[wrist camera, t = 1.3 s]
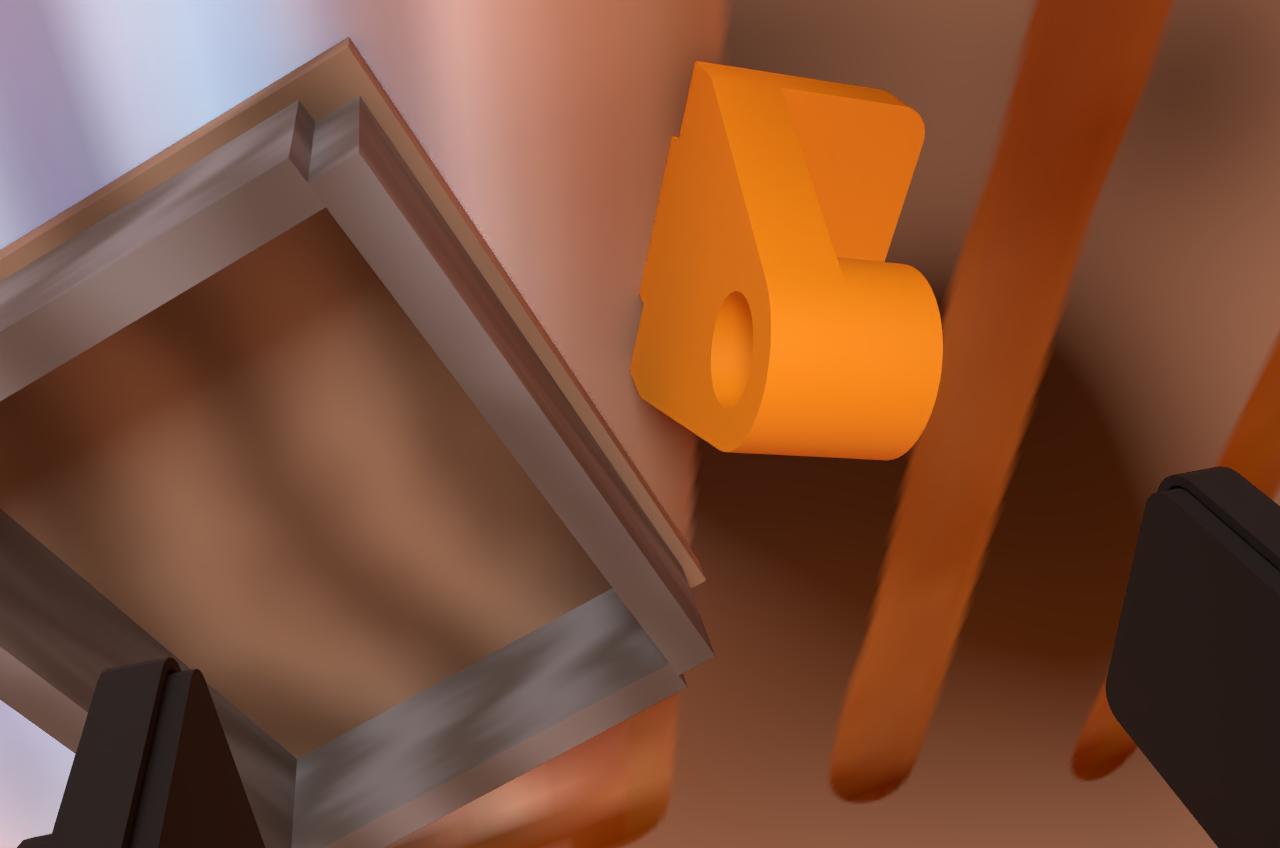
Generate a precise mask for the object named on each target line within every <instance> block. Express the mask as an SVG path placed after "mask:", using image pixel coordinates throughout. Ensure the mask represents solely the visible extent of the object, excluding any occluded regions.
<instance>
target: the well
mask: <svg viewBox="0 0 1280 848" xmlns="http://www.w3.org/2000/svg"><path fill="white" fill-rule="evenodd" d="M704 581H706V579H705V576H704V573H703V571H702V568H701V566H700V563H699V561H698V560H697V558H696V557H695V555H694V554H693V552H692V551H691V549H690V548H689V546H688V545H687V543H686V542H685V540H684V539H683V537H682V536H681V534H680V533H679V531H678V530H677V528H676V527H675V525H674V524H673V522H672V521H671V519H670V518H669V516H668V515H667V513H666V512H665V510H664V509H663V507H662V506H661V504H660V503H659V501H658V500H657V498H656V497H655V495H654V494H653V492H652V491H651V489H650V488H649V486H648V485H647V483H646V482H645V480H644V479H643V477H642V476H641V474H640V473H639V471H638V470H637V468H636V467H635V465H634V464H633V462H632V461H631V459H630V458H629V456H628V455H627V453H626V452H625V450H624V449H623V447H622V446H621V444H620V443H619V441H618V440H617V438H616V437H615V435H614V434H613V432H612V431H611V429H610V428H609V426H608V425H607V423H606V422H605V420H604V419H603V417H602V416H601V414H600V413H599V411H598V410H597V408H596V407H595V405H594V404H593V402H592V401H591V399H590V398H589V396H588V395H587V393H586V392H585V390H584V389H583V387H582V386H581V384H580V383H579V381H578V380H577V378H576V377H575V375H574V374H573V372H572V371H571V369H570V368H569V366H568V365H567V363H566V362H565V360H564V359H563V357H562V356H561V354H560V353H559V351H558V350H557V348H556V347H555V345H554V344H553V342H552V341H551V339H550V338H549V336H548V335H547V333H546V332H545V330H544V329H543V327H542V326H541V324H540V323H539V321H538V320H537V318H536V317H535V315H534V314H533V312H532V311H531V309H530V308H529V306H528V305H527V303H526V302H525V300H524V299H523V297H522V296H521V294H520V293H519V291H518V290H517V288H516V287H515V285H514V284H513V282H512V281H511V279H510V278H509V276H508V275H507V273H506V272H505V270H504V269H503V267H502V266H501V264H500V263H499V261H498V260H497V258H496V257H495V255H494V254H493V252H492V251H491V249H490V248H489V246H488V245H487V243H486V242H485V240H484V239H483V237H482V236H481V234H480V233H479V231H478V230H477V228H476V227H475V225H474V224H473V222H472V221H471V219H470V218H469V216H468V215H467V213H466V212H465V210H464V209H463V207H462V206H461V204H460V203H459V201H458V200H457V198H456V197H455V195H454V194H453V192H452V191H451V189H450V188H449V186H448V185H447V183H446V182H445V180H444V179H443V177H442V176H441V174H440V173H439V171H438V170H437V168H436V167H435V165H434V164H433V162H432V161H431V159H430V158H429V156H428V155H427V153H426V152H425V150H424V149H423V147H422V146H421V144H420V143H419V141H418V140H417V138H416V137H415V135H414V134H413V132H412V131H411V129H410V128H409V126H408V125H407V123H406V122H405V120H404V119H403V117H402V116H401V114H400V113H399V111H398V110H397V108H396V107H395V105H394V104H393V102H392V101H391V99H390V98H389V96H388V95H387V93H386V92H385V90H384V89H383V87H382V86H381V84H380V83H379V81H378V80H377V78H376V77H375V75H374V74H373V72H372V71H371V69H370V68H369V66H368V65H367V63H366V62H365V60H364V59H363V57H362V56H361V54H360V53H359V51H358V50H357V48H356V47H355V45H354V44H353V42H352V41H351V39H350V38H349V37H348V38H346V39H345V40H343V41H341V42H340V43H338V44H336V45H335V46H333V47H332V48H330V49H328V50H327V51H325V52H323V53H322V54H320V55H318V56H317V57H315V58H314V59H312V60H310V61H309V62H307V63H305V64H304V65H302V66H300V67H299V68H297V69H296V70H294V71H292V72H291V73H289V74H287V75H286V76H284V77H283V78H281V79H279V80H278V81H276V82H274V83H273V84H271V85H269V86H268V87H266V88H265V89H263V90H261V91H260V92H258V93H256V94H255V95H253V96H251V97H250V98H248V99H247V100H245V101H243V102H242V103H240V104H238V105H237V106H235V107H234V108H232V109H230V110H229V111H227V112H225V113H224V114H222V115H220V116H219V117H217V118H216V119H214V120H212V121H211V122H209V123H207V124H206V125H204V126H202V127H201V128H199V129H198V130H196V131H194V132H193V133H191V134H189V135H188V136H186V137H185V138H183V139H181V140H180V141H178V142H176V143H175V144H173V145H171V146H170V147H168V148H167V149H165V150H163V151H162V152H160V153H158V154H157V155H155V156H153V157H152V158H150V159H149V160H147V161H145V162H144V163H142V164H140V165H139V166H137V167H136V168H134V169H132V170H131V171H129V172H127V173H126V174H124V175H122V176H121V177H119V178H118V179H116V180H114V181H113V182H111V183H109V184H108V185H106V186H104V187H103V188H101V189H100V190H98V191H96V192H95V193H93V194H91V195H90V196H88V197H87V198H85V199H83V200H82V201H80V202H78V203H77V204H75V205H73V206H72V207H70V208H69V209H67V210H65V211H64V212H62V213H60V214H59V215H57V216H55V217H54V218H52V219H51V220H49V221H47V222H46V223H44V224H42V225H41V226H39V227H38V228H36V229H34V230H33V231H31V232H29V233H28V234H26V235H24V236H23V237H21V238H20V239H18V240H16V241H15V242H13V243H11V244H10V245H8V246H6V247H5V248H3V249H2V250H0V700H2V701H3V702H5V703H6V704H7V705H9V706H10V707H11V708H13V709H14V710H16V711H17V712H18V713H20V714H21V715H23V716H24V717H25V718H27V719H28V720H30V721H31V722H32V723H34V724H35V725H37V726H38V727H39V728H41V729H42V730H43V731H45V732H46V733H48V734H49V735H50V736H52V737H53V738H55V739H56V740H57V741H59V742H60V743H62V744H63V745H64V746H66V747H67V748H68V749H70V750H71V751H73V752H74V753H75V754H76V752H77V748H78V745H79V741H80V738H81V735H82V731H83V728H84V725H85V721H86V718H87V715H88V711H89V708H90V704H91V701H92V698H93V694H94V691H95V688H96V684H97V681H98V679H99V677H100V674H101V673H102V672H103V671H104V670H105V669H107V668H112V667H118V666H123V665H129V664H134V663H140V662H145V661H151V660H156V659H162V658H167V657H171V658H174V659H175V660H176V661H177V663H178V664H179V666H180V668H181V671H187V670H192V669H199V670H200V671H201V672H202V674H203V676H204V678H205V681H206V683H207V686H208V689H209V692H210V695H211V697H212V700H213V703H214V706H215V708H216V711H217V714H218V717H219V720H220V722H221V725H222V728H223V731H224V734H225V736H226V739H227V742H228V745H229V748H230V750H231V753H232V756H233V759H234V761H235V764H236V767H237V770H238V773H239V775H240V778H241V781H242V784H243V787H244V789H245V792H246V795H247V798H248V801H249V803H250V806H251V809H252V812H253V814H254V817H255V820H256V823H257V826H258V828H259V831H260V834H261V837H262V840H263V842H264V845H265V848H384V847H386V846H388V845H390V844H392V843H394V842H396V841H397V840H399V839H401V838H403V837H405V836H407V835H409V834H411V833H413V832H415V831H416V830H418V829H420V828H422V827H424V826H426V825H428V824H430V823H432V822H433V821H435V820H437V819H439V818H441V817H443V816H445V815H447V814H449V813H450V812H452V811H454V810H456V809H458V808H460V807H462V806H464V805H466V804H467V803H469V802H471V801H473V800H475V799H477V798H479V797H481V796H483V795H485V794H486V793H488V792H490V791H492V790H494V789H496V788H498V787H500V786H502V785H503V784H505V783H507V782H509V781H511V780H513V779H515V778H517V777H519V776H520V775H522V774H524V773H526V772H528V771H530V770H532V769H534V768H536V767H538V766H539V765H541V764H543V763H545V762H547V761H549V760H551V759H553V758H555V757H556V756H558V755H560V754H562V753H564V752H566V751H568V750H570V749H572V748H573V747H575V746H577V745H579V744H581V743H583V742H585V741H587V740H589V739H590V738H592V737H594V736H596V735H598V734H600V733H602V732H604V731H606V730H608V729H609V728H611V727H613V726H615V725H617V724H619V723H621V722H623V721H625V720H626V719H628V718H630V717H632V716H634V715H636V714H638V713H640V712H642V711H643V710H645V709H647V708H649V707H651V706H653V705H655V704H657V703H659V702H660V701H662V700H664V699H666V698H668V697H670V696H672V695H674V694H676V693H678V692H679V691H681V690H683V689H685V688H687V684H686V681H685V678H684V675H683V673H684V672H686V671H688V670H690V669H692V668H693V667H695V666H697V665H699V664H701V663H703V662H705V661H707V660H709V659H711V658H712V657H714V656H715V654H714V651H713V649H712V646H711V643H710V641H709V638H708V635H707V633H706V630H705V627H704V624H703V622H702V619H701V616H700V614H699V611H698V608H697V606H696V603H695V601H694V598H693V595H692V592H691V590H690V589H691V588H693V587H695V586H697V585H699V584H701V583H703V582H704Z"/></svg>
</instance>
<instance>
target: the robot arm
mask: <svg viewBox="0 0 1280 848" xmlns="http://www.w3.org/2000/svg"><path fill="white" fill-rule="evenodd" d="M1106 695H1107V699H1108V703H1109V706H1110V708H1111V710H1112V713H1113V715H1114V716H1115V718H1116V719H1117V721H1118V722H1119V723H1120V724H1121V726H1122V727H1123V728H1124V729H1125V731H1126V732H1127V733H1128V734H1129V736H1130V737H1131V738H1132V739H1133V741H1134V742H1135V743H1136V745H1137V746H1138V747H1139V748H1140V750H1141V751H1142V752H1143V753H1144V754H1145V756H1146V757H1147V758H1148V760H1149V761H1150V762H1151V763H1152V765H1153V766H1154V767H1155V768H1156V770H1157V771H1158V772H1159V773H1160V775H1161V776H1162V777H1163V778H1164V780H1165V781H1166V782H1167V784H1168V785H1169V786H1170V787H1171V788H1172V790H1173V791H1174V792H1175V794H1176V795H1177V796H1178V797H1179V798H1180V800H1181V801H1182V802H1183V804H1184V805H1185V806H1186V807H1187V808H1188V810H1189V811H1190V812H1191V814H1192V815H1193V816H1194V817H1195V819H1196V820H1197V821H1198V823H1199V824H1200V825H1201V826H1202V827H1203V829H1204V830H1205V831H1206V833H1207V834H1208V835H1209V836H1210V838H1211V839H1212V840H1213V841H1214V843H1215V844H1216V845H1217V846H1218V848H1280V506H1279V505H1277V504H1276V503H1275V502H1274V501H1272V500H1271V499H1270V498H1269V497H1267V496H1266V495H1265V494H1264V493H1262V492H1261V491H1260V490H1259V489H1257V488H1256V487H1255V486H1254V485H1252V484H1251V483H1250V482H1249V481H1247V480H1246V479H1245V478H1244V477H1242V476H1241V475H1240V474H1239V473H1237V472H1236V471H1234V470H1232V469H1230V468H1227V467H1214V468H1209V469H1203V470H1198V471H1192V472H1187V473H1182V474H1176V475H1172V476H1169V477H1166V478H1165V479H1164V480H1163V481H1162V483H1161V484H1160V486H1159V488H1158V491H1157V493H1154V494H1152V495H1151V496H1150V497H1149V498H1148V500H1147V503H1146V506H1145V510H1144V515H1143V519H1142V524H1141V528H1140V533H1139V537H1138V541H1137V546H1136V550H1135V555H1134V559H1133V564H1132V569H1131V573H1130V578H1129V582H1128V586H1127V591H1126V595H1125V600H1124V604H1123V609H1122V613H1121V618H1120V622H1119V627H1118V631H1117V636H1116V640H1115V645H1114V649H1113V654H1112V658H1111V662H1110V667H1109V671H1108V676H1107V680H1106ZM17 848H265V845H264V842H263V840H262V837H261V834H260V831H259V828H258V826H257V823H256V820H255V817H254V814H253V812H252V809H251V806H250V803H249V801H248V798H247V795H246V792H245V789H244V787H243V784H242V781H241V778H240V775H239V773H238V770H237V767H236V764H235V761H234V759H233V756H232V753H231V750H230V748H229V745H228V742H227V739H226V736H225V734H224V731H223V728H222V725H221V722H220V720H219V717H218V714H217V711H216V708H215V706H214V703H213V700H212V697H211V695H210V692H209V689H208V686H207V683H206V681H205V678H204V676H203V674H202V672H201V671H200V670H199V669H192V670H187V671H181V668H180V666H179V664H178V663H177V661H176V660H175V659H174V658H171V657H167V658H162V659H156V660H151V661H145V662H140V663H134V664H129V665H123V666H118V667H112V668H107V669H105V670H104V671H103V672H102V673H101V674H100V677H99V679H98V681H97V684H96V688H95V691H94V694H93V698H92V701H91V704H90V708H89V711H88V715H87V718H86V721H85V725H84V728H83V731H82V735H81V738H80V741H79V745H78V748H77V752H76V755H75V758H74V762H73V765H72V768H71V772H70V775H69V778H68V782H67V785H66V789H65V792H64V795H63V799H62V802H61V805H60V809H59V812H58V815H57V819H56V822H55V826H54V829H53V832H52V834H49V835H44V836H39V837H34V838H30V839H26V840H23V841H22V842H21V844H20V845H19V846H18V847H17Z"/></svg>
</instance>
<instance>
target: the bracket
mask: <svg viewBox="0 0 1280 848" xmlns="http://www.w3.org/2000/svg"><path fill="white" fill-rule="evenodd" d="M924 138H925V127H924V123H923V120H922V118H921V117H920V115H919V114H918V113H917V112H916V111H915V110H913V109H912V108H910V107H909V106H907V105H906V104H905V103H903V102H902V101H900V100H899V99H898V98H896V97H895V96H894V95H892V94H891V93H889V92H887V91H885V90H882V89H876V88H870V87H863V86H856V85H850V84H843V83H836V82H830V81H824V80H817V79H810V78H804V77H797V76H791V75H785V74H778V73H772V72H765V71H758V70H752V69H746V68H739V67H732V66H726V65H720V64H713V63H707V62H700V61H695V65H694V70H693V75H692V79H691V84H690V89H689V93H688V98H687V103H686V107H685V112H684V117H683V122H682V126H681V131H680V136H679V137H673V136H672V139H671V144H670V149H669V154H668V159H667V163H666V168H665V173H664V178H663V183H662V187H661V192H660V197H659V202H658V206H657V211H656V216H655V221H654V226H653V230H652V235H651V240H650V245H649V250H648V254H647V259H646V264H645V269H644V273H643V278H642V283H641V288H640V293H639V295H640V297H641V300H642V302H643V304H644V305H643V310H642V315H641V319H640V324H639V329H638V333H637V338H636V343H635V347H634V352H633V357H632V362H631V366H630V373H631V375H632V378H633V380H634V383H635V385H636V388H637V390H638V393H639V395H640V398H642V399H643V400H645V401H646V402H648V403H649V404H651V405H652V406H654V407H655V408H657V409H658V410H660V411H661V412H663V413H664V414H666V415H667V416H669V417H670V418H672V419H673V420H675V421H676V422H678V423H679V424H681V425H682V426H684V427H686V428H687V429H689V430H690V431H692V432H693V433H695V434H696V435H698V436H699V437H701V438H702V439H704V440H705V441H707V442H708V443H710V444H711V445H713V446H714V447H716V448H717V449H719V450H721V451H723V452H733V453H734V452H735V453H753V454H774V455H793V456H813V457H833V458H853V459H872V460H892V459H895V458H898V457H900V456H902V455H903V454H904V453H906V452H907V451H908V450H909V449H910V448H911V447H912V446H913V445H914V444H915V442H916V441H917V440H918V438H919V437H920V435H921V434H922V432H923V430H924V428H925V426H926V424H927V422H928V420H929V418H930V415H931V413H932V410H933V407H934V404H935V400H936V397H937V393H938V388H939V383H940V377H941V370H942V359H943V336H942V325H941V319H940V313H939V309H938V305H937V302H936V299H935V296H934V293H933V291H932V289H931V287H930V285H929V283H928V281H927V280H926V279H925V277H924V276H923V275H922V274H921V273H920V272H919V271H918V270H917V269H915V268H914V267H912V266H909V265H905V264H897V263H888V262H885V259H886V256H887V253H888V250H889V247H890V243H891V240H892V237H893V234H894V231H895V228H896V225H897V222H898V219H899V216H900V213H901V210H902V206H903V203H904V201H905V198H906V194H907V191H908V188H909V185H910V182H911V179H912V176H913V173H914V170H915V167H916V164H917V161H918V158H919V155H920V151H921V149H922V145H923V142H924Z"/></svg>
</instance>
